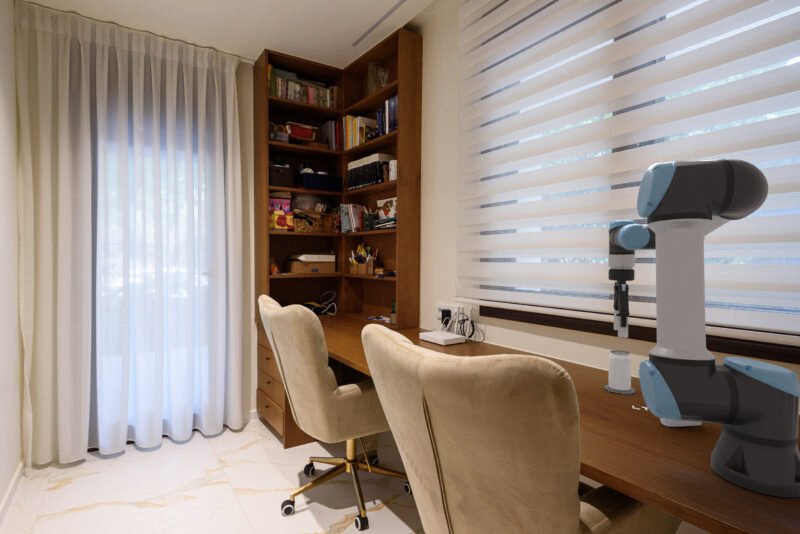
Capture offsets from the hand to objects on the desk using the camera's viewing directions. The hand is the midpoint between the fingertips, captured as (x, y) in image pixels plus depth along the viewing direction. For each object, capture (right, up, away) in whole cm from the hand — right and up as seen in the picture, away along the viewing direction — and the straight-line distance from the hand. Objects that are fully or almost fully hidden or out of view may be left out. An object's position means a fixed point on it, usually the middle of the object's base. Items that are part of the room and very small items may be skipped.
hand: (620, 333), depth 139 cm
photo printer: (+2, -20, -27) cm, 33 cm away
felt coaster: (0, -19, +1) cm, 19 cm away
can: (0, -18, +1) cm, 18 cm away
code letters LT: (-2, -19, -16) cm, 25 cm away
